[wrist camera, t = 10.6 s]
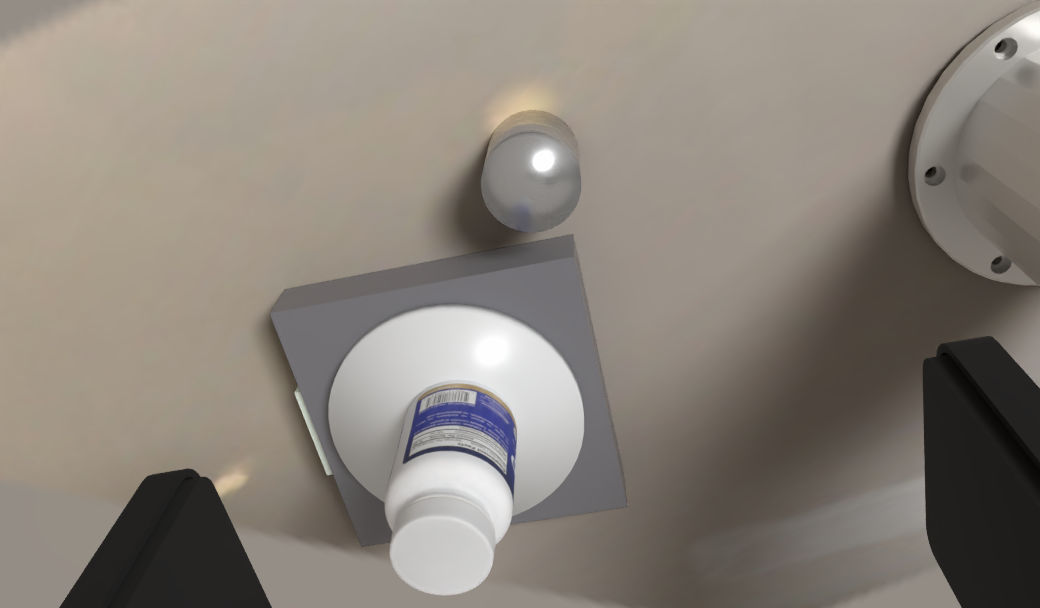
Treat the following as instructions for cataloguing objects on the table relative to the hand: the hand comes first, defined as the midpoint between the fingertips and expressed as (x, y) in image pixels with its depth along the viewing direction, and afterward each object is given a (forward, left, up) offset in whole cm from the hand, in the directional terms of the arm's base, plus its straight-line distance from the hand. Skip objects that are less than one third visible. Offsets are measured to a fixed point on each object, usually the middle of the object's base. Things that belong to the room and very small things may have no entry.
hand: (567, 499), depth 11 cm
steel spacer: (+2, +4, -28) cm, 29 cm away
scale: (+8, +15, -28) cm, 33 cm away
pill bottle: (+8, +15, -25) cm, 30 cm away
